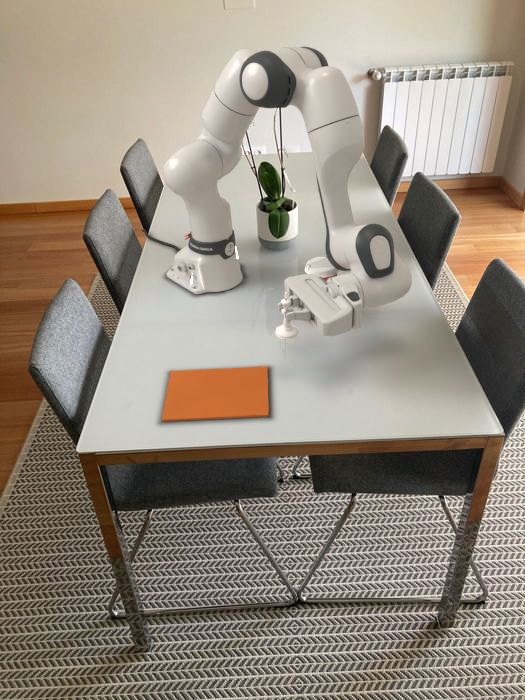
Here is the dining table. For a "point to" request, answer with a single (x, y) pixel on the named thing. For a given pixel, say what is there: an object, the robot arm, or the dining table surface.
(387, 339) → the dining table surface
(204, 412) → the cloth mat
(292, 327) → the chess piece
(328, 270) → the coffee cup
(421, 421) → the dining table surface
